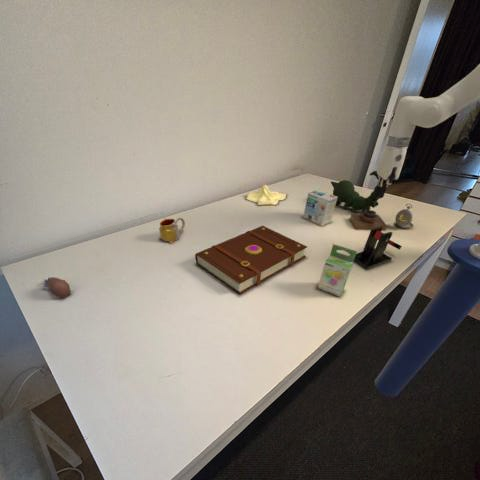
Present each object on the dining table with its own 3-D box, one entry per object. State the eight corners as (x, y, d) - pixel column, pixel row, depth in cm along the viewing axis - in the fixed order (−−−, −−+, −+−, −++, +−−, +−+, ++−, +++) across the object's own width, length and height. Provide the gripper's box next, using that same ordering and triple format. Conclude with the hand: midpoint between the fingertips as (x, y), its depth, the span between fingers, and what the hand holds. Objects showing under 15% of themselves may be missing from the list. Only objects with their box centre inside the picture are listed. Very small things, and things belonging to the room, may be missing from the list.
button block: (376, 219, 117) (380, 210, 114) (384, 230, 110) (388, 220, 107) (349, 219, 117) (352, 210, 114) (356, 229, 110) (359, 219, 107)
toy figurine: (374, 216, 123) (330, 196, 134) (396, 173, 109) (344, 155, 120) (365, 222, 118) (320, 201, 129) (386, 178, 104) (333, 158, 115)
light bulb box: (302, 217, 117) (307, 192, 109) (312, 214, 120) (317, 189, 112) (321, 226, 111) (328, 200, 103) (331, 222, 114) (338, 196, 107)
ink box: (316, 288, 80) (328, 249, 71) (321, 282, 83) (333, 243, 73) (339, 297, 78) (353, 257, 68) (343, 290, 80) (358, 251, 70)
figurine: (42, 291, 79) (58, 302, 73) (32, 276, 76) (48, 287, 70) (60, 283, 82) (77, 293, 76) (51, 268, 79) (68, 277, 73)
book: (305, 257, 93) (308, 245, 89) (240, 295, 77) (241, 281, 74) (260, 234, 104) (260, 222, 101) (195, 263, 89) (194, 250, 85)
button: (372, 214, 112) (374, 210, 111) (375, 218, 109) (377, 214, 108) (363, 214, 112) (364, 210, 111) (366, 218, 109) (367, 213, 108)
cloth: (265, 208, 123) (267, 195, 119) (238, 197, 132) (238, 184, 128) (294, 197, 134) (296, 184, 130) (267, 188, 144) (268, 175, 139)
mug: (170, 244, 98) (166, 227, 93) (157, 239, 100) (153, 222, 96) (192, 233, 104) (190, 216, 100) (180, 228, 107) (177, 212, 103)
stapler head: (384, 243, 96) (389, 237, 95) (398, 251, 93) (403, 245, 91) (368, 234, 88) (373, 227, 87) (383, 242, 84) (388, 235, 83)
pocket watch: (412, 224, 114) (424, 200, 107) (412, 232, 109) (425, 208, 101) (392, 220, 116) (402, 197, 109) (391, 228, 111) (402, 204, 104)
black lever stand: (372, 250, 97) (384, 222, 90) (390, 261, 92) (404, 232, 85) (349, 258, 93) (359, 229, 85) (366, 269, 88) (379, 240, 81)
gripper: (418, 146, 87) (395, 203, 99) (399, 138, 97) (381, 190, 110) (395, 146, 87) (375, 203, 99) (379, 138, 98) (363, 190, 110)
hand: (378, 196), depth 105 cm, fingers closed
